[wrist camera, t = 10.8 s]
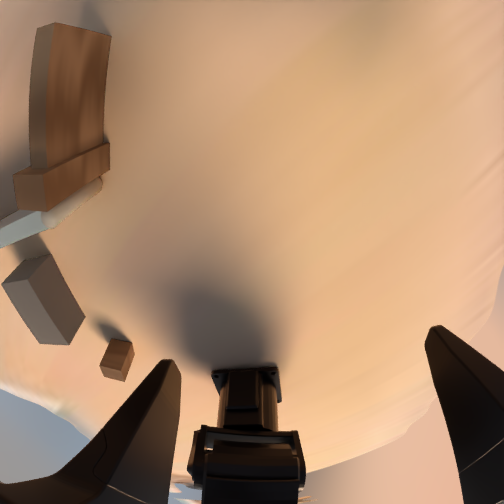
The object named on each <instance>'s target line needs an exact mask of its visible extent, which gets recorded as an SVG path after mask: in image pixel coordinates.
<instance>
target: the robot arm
mask: <svg viewBox="0 0 504 504" xmlns="http://www.w3.org/2000/svg"><path fill="white" fill-rule="evenodd" d="M425 351H426V354H427V358H428V362H429V366H430V370H431V375H432V379H433V383H434V386H435V389H436V392H437V395H438V398H439V401H440V404H441V407H442V410H443V414H444V417H445V421H446V424H447V428H448V431H449V435H450V438H451V442H452V446H453V450H454V454H455V459H456V463H457V467H458V472H459V478H460V483H461V489H462V495H463V501H464V504H504V371H502V370H501V369H500V368H499V367H497V366H496V365H495V364H493V363H492V362H491V361H489V360H488V359H487V358H485V357H484V356H483V355H482V354H480V353H479V352H478V351H476V350H475V349H474V348H472V347H471V346H470V345H468V344H467V343H466V342H464V341H463V340H461V339H460V338H459V337H457V336H456V335H455V334H453V333H452V332H450V331H449V330H448V329H446V328H445V327H443V326H442V325H437V326H433V327H431V328H430V330H429V332H428V335H427V338H426V340H425ZM211 377H212V379H213V382H214V384H215V386H216V389H217V391H218V393H219V396H220V400H219V410H218V420H217V427H210V426H207V425H201V430H197V431H194V437H193V444H192V449H191V453H190V457H189V461H188V465H187V471H188V472H189V474H190V475H191V476H192V480H193V481H194V488H199V489H202V501H201V504H297V503H298V493H299V492H301V491H302V490H303V488H304V485H305V479H306V466H305V461H304V456H303V452H302V448H301V443H300V439H299V435H298V431H297V430H294V431H278V412H277V403H280V402H281V401H282V397H281V388H280V379H279V370H278V368H276V367H268V368H255V369H237V370H215V371H212V374H211ZM180 398H181V373H180V371H179V369H178V368H177V366H176V364H175V362H174V361H173V360H172V359H162V360H161V361H160V362H159V363H158V364H157V365H156V366H155V367H154V369H153V370H152V371H151V372H150V373H149V374H148V376H147V377H146V378H145V379H144V380H143V381H142V383H141V384H140V385H139V386H138V387H137V388H136V390H135V391H134V392H133V393H132V394H131V395H130V396H129V398H128V399H127V400H126V401H125V402H124V403H123V405H122V406H121V407H120V408H119V409H118V410H117V412H116V413H115V414H114V415H113V416H112V417H111V419H110V420H109V421H108V422H107V423H106V424H105V426H104V427H103V428H102V429H101V430H100V431H99V432H98V434H97V435H96V436H95V437H94V438H93V439H92V440H91V441H90V442H89V443H88V444H87V445H86V447H84V448H83V449H82V450H81V451H80V452H79V453H78V454H77V455H76V456H75V457H74V458H73V459H72V460H70V461H69V462H68V463H67V464H66V465H65V466H64V467H63V468H62V469H60V470H59V471H58V472H57V473H55V474H53V475H50V476H48V477H44V478H39V479H34V480H29V481H24V482H18V483H12V484H4V483H2V482H1V481H0V504H168V496H169V488H170V480H171V472H172V465H173V458H174V451H175V444H176V437H177V431H178V424H179V417H180ZM207 448H212V449H213V450H207Z"/></svg>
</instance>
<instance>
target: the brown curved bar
mask: <svg viewBox="0 0 504 504" xmlns="http://www.w3.org/2000/svg"><path fill="white" fill-rule="evenodd" d="M110 42H111V36H108V35H104V34H101V33H97V32H94V31H90V30H86V29H82V28H78V27H74V26H69V25H65V24H60V23H52V24H49V25H46V26H43V27H40V28H37V31H36V37H35V43H34V50H33V58H32V67H31V78H30V94H29V143H30V159H31V166H30V167H28V168H26V169H24V170H22V171H20V172H18V173H16V174H14V175H13V181H14V189H15V195H16V202H17V207H18V210H30V211H41V212H48V211H49V210H51V209H52V208H53V207H55V206H56V205H58V204H59V203H60V202H62V201H63V200H64V199H66V198H67V197H69V196H70V195H72V194H73V193H74V192H76V191H77V190H79V189H80V188H82V187H83V186H85V185H86V184H88V183H89V182H91V181H92V180H94V179H96V178H97V177H99V176H100V175H102V174H103V173H105V172H107V171H108V170H110V143H103V121H104V99H105V85H106V74H107V65H108V56H109V49H110ZM134 355H135V354H134V350H133V346H132V343H130V342H125V341H121V340H116V339H111V341H110V343H109V345H108V347H107V349H106V352H105V354H104V356H103V358H102V361H101V363H100V365H99V366H100V368H101V371H102V373H103V375H104V377H108V378H111V379H115V380H119V381H123V382H125V380H126V377H127V374H128V371H129V368H130V366H131V363H132V360H133V358H134Z"/></svg>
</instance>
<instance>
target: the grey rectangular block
mask: <svg viewBox="0 0 504 504" xmlns="http://www.w3.org/2000/svg"><path fill="white" fill-rule="evenodd" d="M1 285H2V286H3V288H4V290H5V292H6V293H7V295H8V297H9V298H10V300H11V302H12V303H13V305H14V307H15V308H16V310H17V311H18V313H19V315H20V316H21V318H22V319H23V321H24V322H25V324H26V325H27V327H28V328H29V329H30V331H31V332H32V334H33V335H34V337H35V338H36V339H37V341H38V342H39V343H40V344H52V345H70V343H71V341H72V339H73V338H74V336H75V334H76V332H77V331H78V329H79V327H80V325H81V324H82V322H83V320H84V319H85V315H84V313H83V312H82V310H81V308H80V307H79V305H78V303H77V302H76V300H75V298H74V296H73V295H72V293H71V291H70V289H69V287H68V285H67V284H66V282H65V280H64V278H63V276H62V274H61V272H60V270H59V268H58V266H57V264H56V262H55V260H54V258H53V256H52V254H49V255H45V256H41V257H37V258H33V259H28V260H24V261H23V262H22V263H21V264H20V265H19V266H18V267H17V268H16V269H15V270H14V271H13V272H12V273H11V274H10V275H9V276H8V277H7V278H6V279H5V281H4V282H3V283H2V284H1Z"/></svg>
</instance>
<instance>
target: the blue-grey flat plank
mask: <svg viewBox="0 0 504 504" xmlns="http://www.w3.org/2000/svg"><path fill="white" fill-rule="evenodd" d="M101 189H102V181H101V179H100V178H99V177H97V178H96V179H94V180H92V181H91V182H89V183H88V184H86V185H85V186H83V187H82V188H80V189H79V190H77V191H76V192H74V193H73V194H72V195H70V196H69V197H67V198H66V199H64V200H63V201H62V202H60V203H59V204H58V205H56V206H55V207H53V208H52V209H51V210H49V211H48V212H41V211H30V210H18V211H16V212H14V213H12V214H11V215H9V216H7V217H5V218H3V219H2V220H0V248H3V247H5V246H7V245H10V244H12V243H14V242H17V241H19V240H22V239H24V238H27V237H29V236H32V235H34V234H37V233H39V232H42V231H45V230H47V229H53V228H55V227H56V226H57V225H58V224H59V223H61V222H62V221H63V220H64V219H65V218H66V217H68V216H69V215H70V214H71V213H73V212H74V211H75V210H76V209H78V208H79V207H80V206H81V205H83V204H84V203H85V202H86V201H88V200H89V199H90V198H92V197H93V196H94V195H96V194H97V193H98V192H100V191H101Z"/></svg>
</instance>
